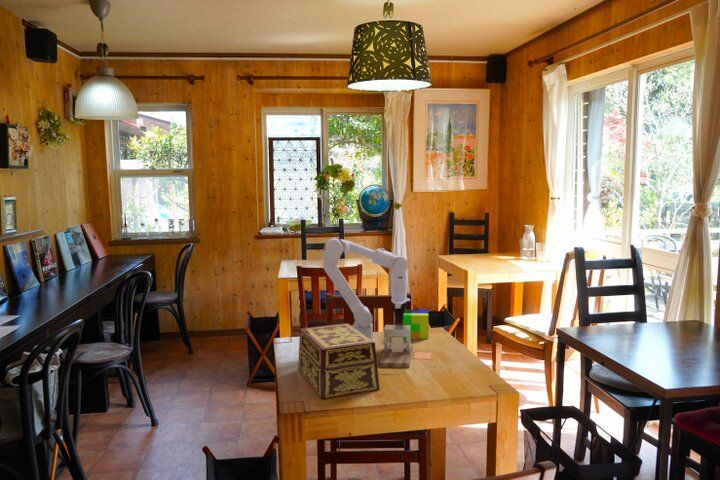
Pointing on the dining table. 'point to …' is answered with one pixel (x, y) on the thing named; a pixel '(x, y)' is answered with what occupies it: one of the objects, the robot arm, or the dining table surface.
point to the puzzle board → (396, 358)
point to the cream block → (397, 344)
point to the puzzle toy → (417, 323)
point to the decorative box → (337, 360)
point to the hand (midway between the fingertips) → (399, 322)
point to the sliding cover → (397, 331)
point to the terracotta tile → (422, 355)
